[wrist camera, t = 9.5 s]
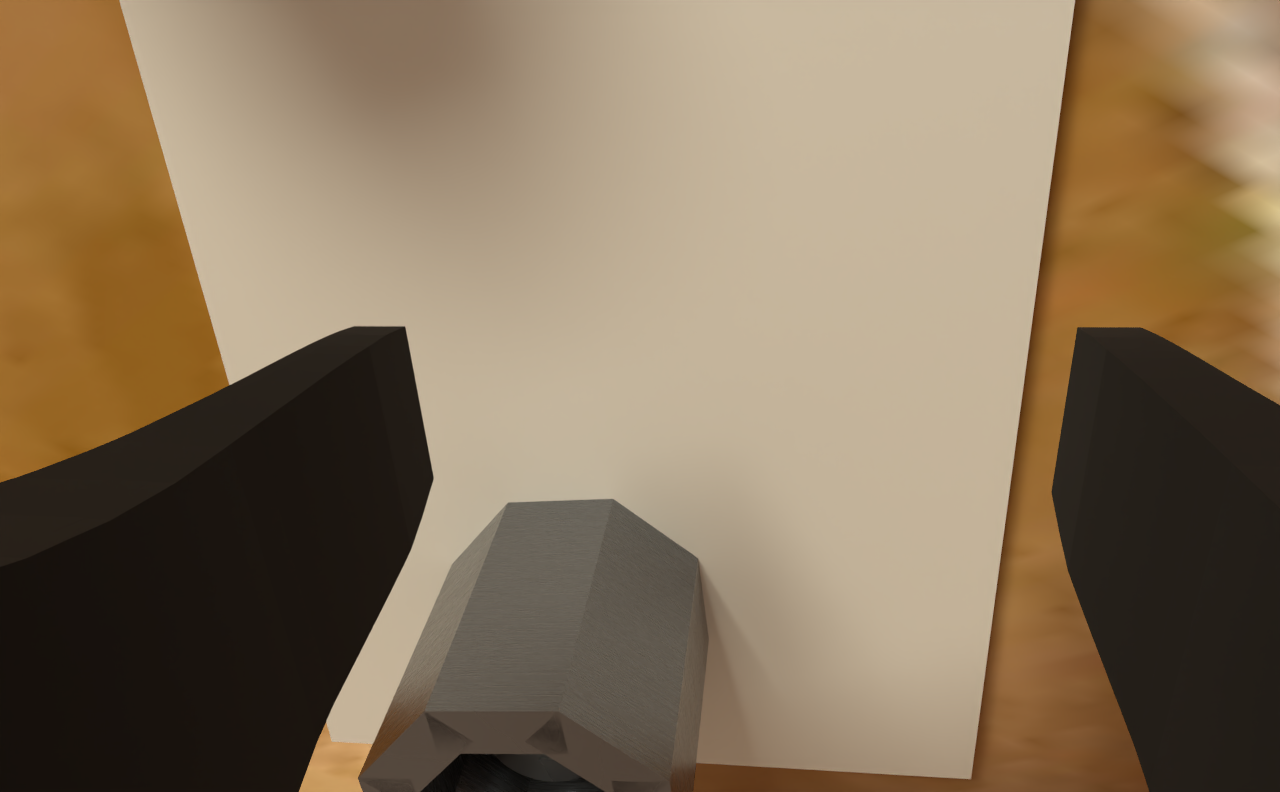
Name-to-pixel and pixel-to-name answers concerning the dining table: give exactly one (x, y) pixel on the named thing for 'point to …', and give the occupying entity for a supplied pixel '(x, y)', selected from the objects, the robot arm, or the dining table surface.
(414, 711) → the gray faceted cup
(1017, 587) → the dining table surface
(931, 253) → the board
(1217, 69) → the dining table surface
